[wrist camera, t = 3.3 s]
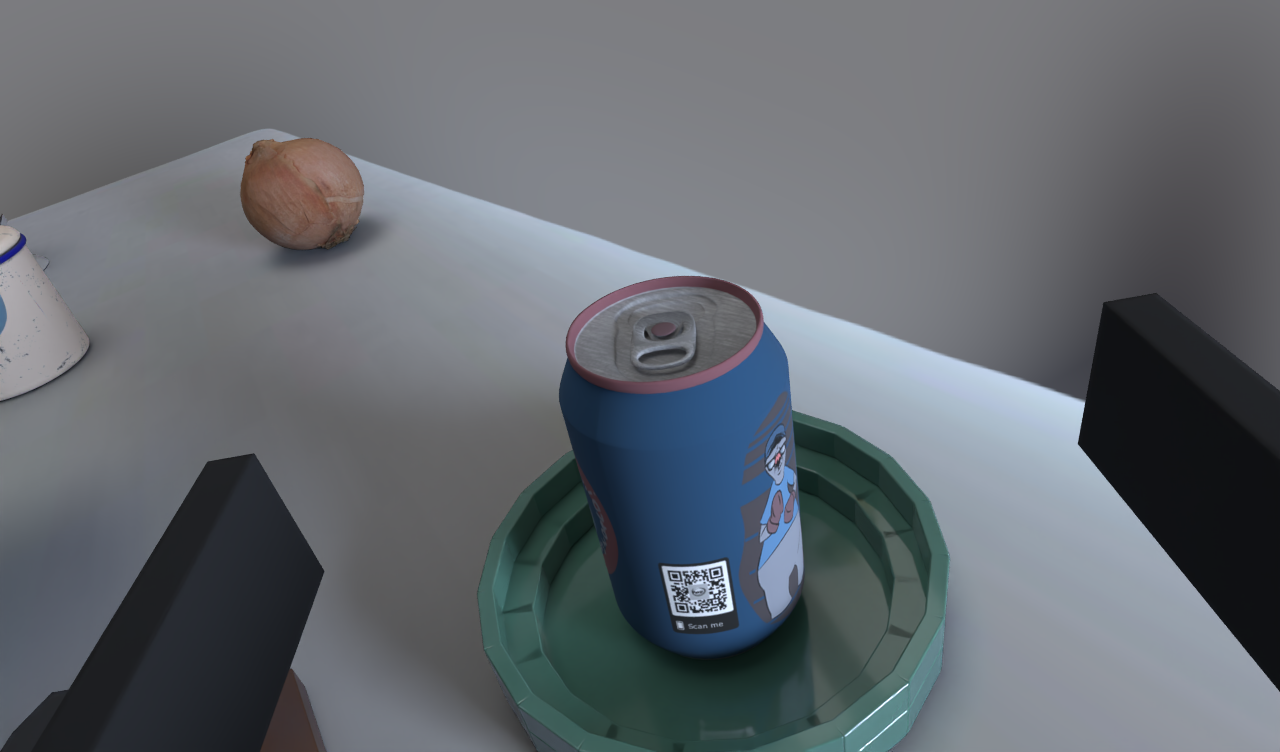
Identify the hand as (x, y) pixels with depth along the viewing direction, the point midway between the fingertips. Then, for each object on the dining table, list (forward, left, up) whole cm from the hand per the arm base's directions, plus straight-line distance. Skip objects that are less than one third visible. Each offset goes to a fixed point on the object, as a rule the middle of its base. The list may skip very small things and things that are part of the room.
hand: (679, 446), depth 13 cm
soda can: (-8, +5, -16) cm, 19 cm away
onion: (-59, +3, -16) cm, 62 cm away
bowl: (-8, +5, -16) cm, 19 cm away
